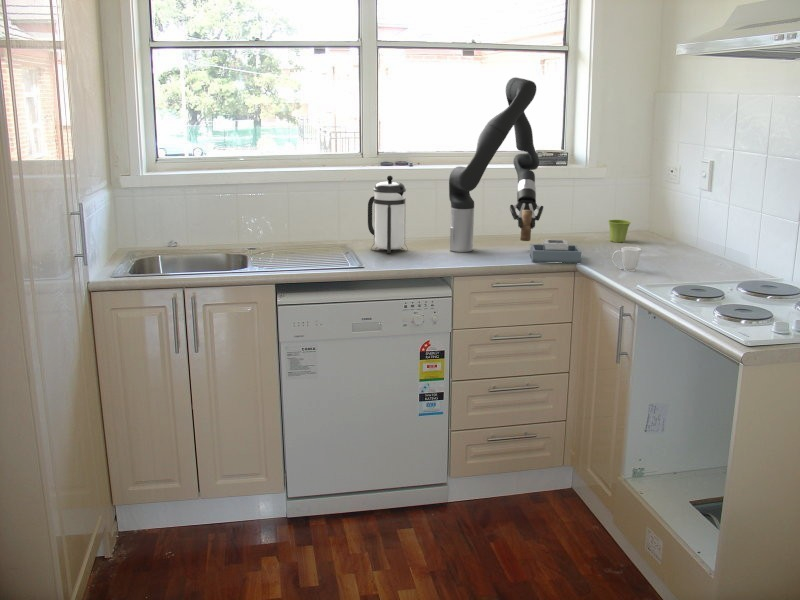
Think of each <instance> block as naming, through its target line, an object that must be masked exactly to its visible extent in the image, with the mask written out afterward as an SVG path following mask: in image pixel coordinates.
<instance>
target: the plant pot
mask: <svg viewBox="0 0 800 600" xmlns="http://www.w3.org/2000/svg"><path fill="white" fill-rule="evenodd" d="M607 222H608V225H609V236H610V237H609V240H610V242H613V243H618V242H619V243H625V242H626V238H627V233H628V230H629V227H630V224H631V223H632V221H629V220H626V219H625V220H624V219H608V221H607Z"/></svg>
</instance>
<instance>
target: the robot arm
mask: <svg viewBox="0 0 800 600" xmlns="http://www.w3.org/2000/svg"><path fill="white" fill-rule="evenodd" d="M536 94H537V85H536V83H535V82H534V81H532V80H529V79H526V78H520V77H511V78H510V79H509V80H508V81H507V83H506V85H505V95H506V101H507V105H508V106H507V108H505V109H504V110H502V111H501V112H500V113H498V114H496V115H495V116H493V118H491V119H489V121H488V122H487V123H486V125H485V126H484V128H483V129H482V131H481V132H480V134H479V136H478V139H477V145H476V150H475V153H474V155H473V157H472V159H470V162H469V163H468V164H467V165H466V166H456V167H454V168H453V169H452V170H451V171H450V174H449V178H448V197H449V201H450V228H449V229H450V230H449V251H450V252H457V253H458V252H459V253H465V252H466V253H467V252H472V251H473V249H474V224H475V223H474V222H475V221H474V220H475V219H474V218H475V201H474V199H473V197H471V194H470V192H472V191H473V190H475V189H476V187H478V185H479V184H480V182H481V179H482V177H483V176H484V173H485V172H486V169H487V168H488V166H489V164H490V163H491V161H492V160H493V157H494V156H495V154H497V152H498V150H499V149H500V148H501V146H502V144H503V142H504V141H505V140H506V138H507V137H508V134H509V133H510V131H511V130H512V128H513V127H514V134H515V135H514V136H515V147H516V149H517V150H518V151H521V152H526V153H518V154H516V155H515V156H514V157H513V166H514V167H513V168H514V169H515V170H516V171H515V172H516V174H517V186H516V187H517V189H516V190H517V191H516V194H517V196H516V199H517V200H516V204H510V206H509V212H510V213H511V217H512V218H513V219H512V220H516V221H517V226H518V228H519V229H521V228H522V210H532V223H531V230H533V229H534V228H536V222H537V221H539V220H540V219H541V216H542V214H543V212H544V206H543V205H538V203H537V191H536V174H535V172H534V170H537V169H538V167H539V166H540V159H539V155H538V154H537V151H536V149H535V148H536V147H535V145H534V137H533V130H532V126H531V123H530V121H529V119H528V117H527V115H526V114H525V113H526V112H525V110H526V109H527V108H528V107H529V105H530V104H531V103H532V101H533V100H534V98H535V96H536ZM516 209H517V211H518V212H519V214H518V213H517V212H516ZM536 210H537V213H536V214H537V215H535V211H536Z"/></svg>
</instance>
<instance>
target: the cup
mask: <svg viewBox="0 0 800 600" xmlns="http://www.w3.org/2000/svg"><path fill="white" fill-rule="evenodd" d="M618 252H619V253H621V263H622V266H623V268H621V267H620V266H619V265H617V264H616V263H615V262H614V259H613V258H614V255H615V254H616V253H618ZM641 253H642V248H640V247H636V246H623V247H621V250H620V249H617V250H616V251H614V252H613V253H612V255H611V256H612V257H611V262H612V264H613V265H614V266H615V267H616V268H618V269H620V270H621V269H624V270H623V271H625V270H628V271H627V272H636V271H637V269H636V268H637V266H638V264H639V261H640V256H641ZM635 270H636V271H635Z"/></svg>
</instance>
